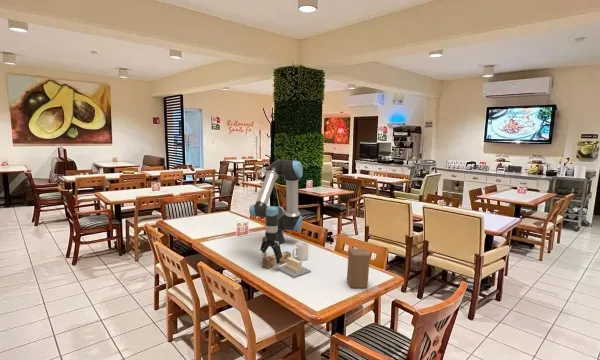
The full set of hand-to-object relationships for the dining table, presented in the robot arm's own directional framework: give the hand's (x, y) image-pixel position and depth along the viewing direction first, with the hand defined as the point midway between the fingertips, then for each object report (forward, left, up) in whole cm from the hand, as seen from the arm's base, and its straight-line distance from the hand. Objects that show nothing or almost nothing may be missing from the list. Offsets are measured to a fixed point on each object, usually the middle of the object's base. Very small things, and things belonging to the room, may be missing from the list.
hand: (270, 265), depth 210 cm
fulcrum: (-8, +13, -1) cm, 15 cm away
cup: (-24, +1, -1) cm, 24 cm away
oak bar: (-6, -1, -1) cm, 6 cm away
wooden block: (-24, +49, -1) cm, 55 cm away
